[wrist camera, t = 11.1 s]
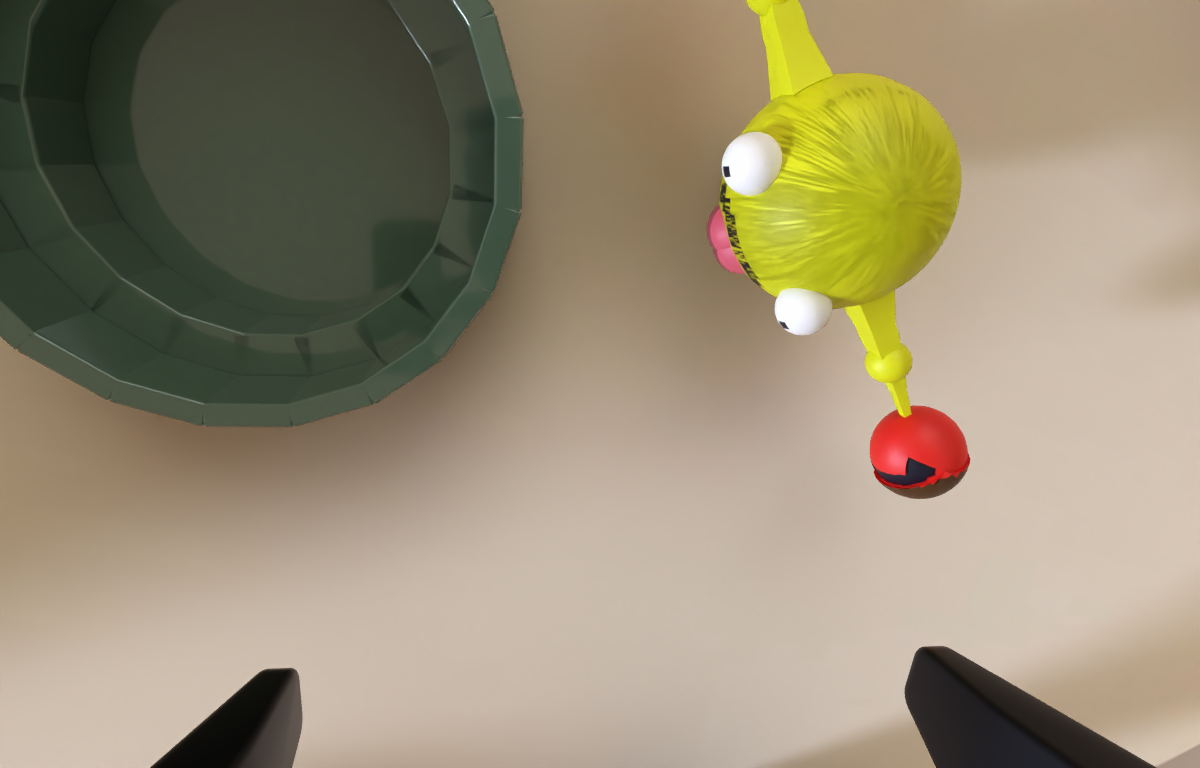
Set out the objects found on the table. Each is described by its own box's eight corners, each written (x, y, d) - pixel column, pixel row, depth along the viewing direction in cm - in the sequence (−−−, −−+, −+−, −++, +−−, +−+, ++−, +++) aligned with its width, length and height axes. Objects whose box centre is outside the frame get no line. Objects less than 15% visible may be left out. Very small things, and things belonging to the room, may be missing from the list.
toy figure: (537, -99, 15) (557, -283, 9) (738, -206, 15) (904, -471, 9) (775, 467, 22) (883, 592, 15) (917, 397, 22) (1085, 494, 15)
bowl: (525, -97, 15) (531, -196, 11) (514, 370, 19) (516, 429, 15) (-41, -173, 13) (-292, -326, 9) (79, 362, 17) (-57, 426, 13)
